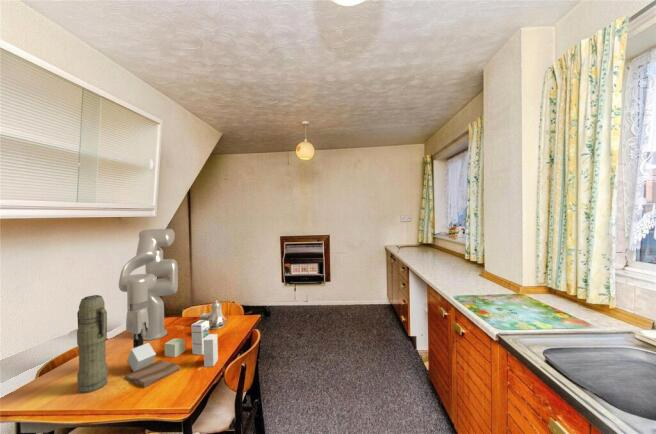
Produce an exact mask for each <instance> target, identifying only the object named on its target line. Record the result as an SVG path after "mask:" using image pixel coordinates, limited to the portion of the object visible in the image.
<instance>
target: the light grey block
mask: <svg viewBox="0 0 656 434" xmlns="http://www.w3.org/2000/svg"><path fill="white" fill-rule="evenodd" d="M156 355H157V353H156V351H155V350H154V349H153V347H152V345H151V343H150V342H147V343H143V345H141V346H139V347H136V348H131V349H130V352H129V354H128V356H127V359H126V362H127V364H128V365H129V367H130V369H131V370H132V372H134V371H137V370H139V369H141V368H143V367H146V366H148V365H150V364H152V363H154V360H155V358H156Z"/></svg>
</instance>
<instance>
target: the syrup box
mask: <svg viewBox="0 0 656 434" xmlns="http://www.w3.org/2000/svg"><path fill="white" fill-rule="evenodd" d="M208 334H210V329H209V321H207V320H201V319H200V320H199V319H198V321H195V322H194V323H191V348H192V349H191V350H192V351H191V352H192V355H197V356H199V355H200V356H201V355H203V356H204V339H205V338H206V337H207V335H208Z"/></svg>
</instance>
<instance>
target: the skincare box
mask: <svg viewBox="0 0 656 434" xmlns="http://www.w3.org/2000/svg"><path fill="white" fill-rule="evenodd" d="M218 352H219V346H218V334H217V333H209V334H208V335H207V337H206V338H205V339H204V354H203V363H204V365H203V366H204V368H210V367H211V368H212V367H215V365H216V364H217V361H218V360H219V353H218Z"/></svg>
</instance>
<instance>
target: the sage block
mask: <svg viewBox="0 0 656 434" xmlns="http://www.w3.org/2000/svg"><path fill="white" fill-rule="evenodd" d="M185 342H186V340H185V339H184V338H176V337H175V338H173V339H171V340H168V341H167V342H165V343H164V357H170V358H176V357H178V356H180V355H181V354H183V353H184V352H185V351H186V349H185V347H186V346H185V345H186V344H185Z"/></svg>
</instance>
